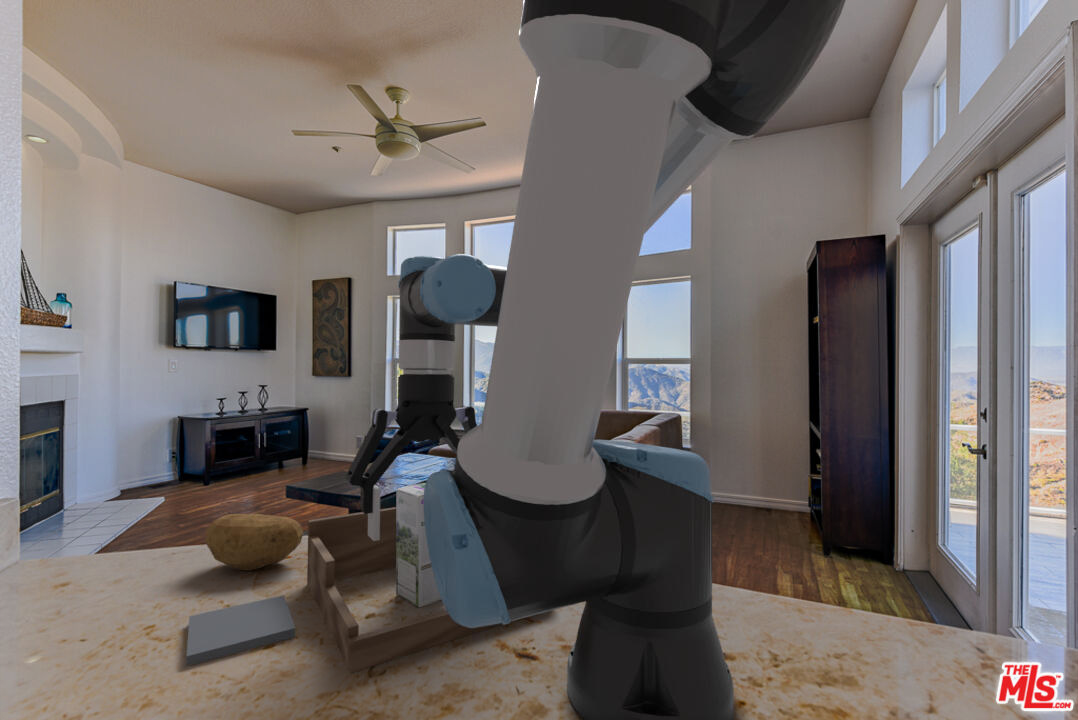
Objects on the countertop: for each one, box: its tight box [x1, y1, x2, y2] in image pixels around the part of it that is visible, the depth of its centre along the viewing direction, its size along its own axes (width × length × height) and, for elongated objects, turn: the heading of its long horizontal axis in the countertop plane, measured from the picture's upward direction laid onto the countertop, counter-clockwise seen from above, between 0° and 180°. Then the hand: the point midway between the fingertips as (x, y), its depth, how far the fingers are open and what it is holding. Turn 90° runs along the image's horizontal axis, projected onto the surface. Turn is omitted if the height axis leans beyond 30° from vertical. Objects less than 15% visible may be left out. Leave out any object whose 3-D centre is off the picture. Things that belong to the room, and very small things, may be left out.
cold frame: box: [306, 506, 503, 674], centre depth 66 cm, size 25×25×9 cm
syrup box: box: [395, 482, 442, 608], centre depth 66 cm, size 6×6×14 cm
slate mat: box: [186, 594, 296, 667], centre depth 57 cm, size 10×10×1 cm
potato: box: [204, 513, 304, 571], centre depth 76 cm, size 10×14×8 cm
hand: (424, 528), depth 66 cm, fingers open, 13 cm apart
